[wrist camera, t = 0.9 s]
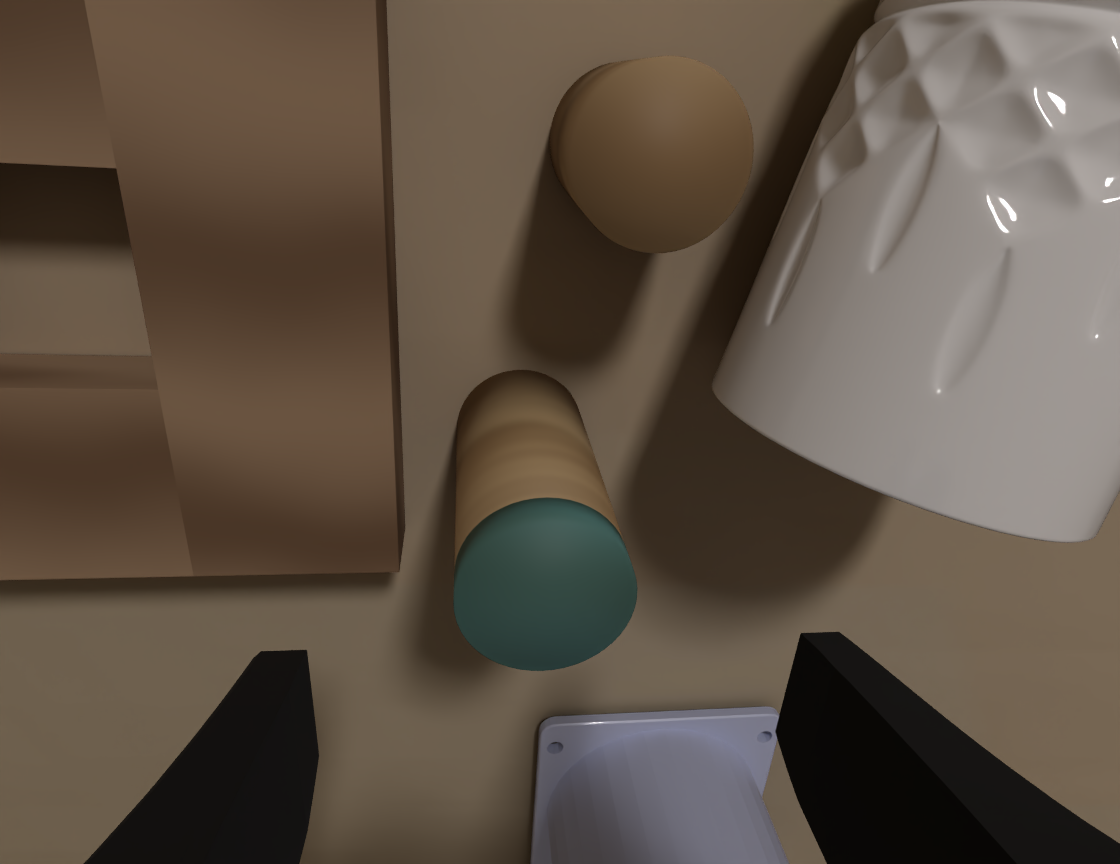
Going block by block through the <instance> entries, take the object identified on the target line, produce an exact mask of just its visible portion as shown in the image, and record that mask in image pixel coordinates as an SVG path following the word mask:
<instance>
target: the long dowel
mask: <svg viewBox="0 0 1120 864" xmlns="http://www.w3.org/2000/svg"><path fill="white" fill-rule="evenodd" d="M636 599H637V582H636V577H635V573H634V570H633V567H632V564H631V561H630V558H629V555H628V552H627V549H626V546H625V543H624V540H623V538H622V535H621V532H620V529H619V526H618V523H617V520H616V517H615V514H614V511H613V508H612V505H611V503H610V500H609V497H608V494H607V491H606V488H605V485H604V482H603V479H602V476H601V473H600V470H599V467H598V465H597V462H596V459H595V456H594V453H593V450H592V447H591V444H590V441H589V438H588V435H587V432H586V430H585V427H584V424H583V421H582V418H581V415H580V412H579V409H578V406H577V404H576V402H575V400H574V398H573V397H572V395H571V394H570V392H569V391H568V390H567V389H566V388H565V387H564V386H563V385H562V384H561V383H559V382H558V381H556V380H555V379H553V378H552V377H549V376H547V375H545V374H542V373H539V372H535V371H529V370H513V371H507V372H503V373H499V374H497V375H494V376H492V377H490V378H488V379H486V380H485V381H483V382H482V383H480V384H479V385H478V386H477V387H476V388H475V389H474V390H473V391H472V392H471V393H470V394H469V395H468V397H467V398H466V400H465V401H464V403H463V405H462V407H461V410H460V413H459V417H458V425H457V466H456V512H455V558H454V613H455V617H456V621H457V624H458V626H459V628H460V631H461V632H462V634H463V635H464V637H465V638H466V640H467V641H468V642H469V643H470V644H471V645H472V647H474V648H475V649H476V650H477V651H478V652H479V653H481V654H482V655H484V656H485V657H487V658H488V659H490V660H492V661H495V662H497V663H499V664H502V665H505V666H508V667H511V668H516V669H521V670H530V671H544V670H555V669H560V668H565V667H568V666H572V665H575V664H578V663H580V662H583V661H585V660H587V659H589V658H591V657H593V656H595V655H597V654H598V653H600V652H601V651H602V650H604V649H605V648H607V647H608V646H609V645H610V644H611V643H612V642H614V640H615V639H616V638H617V637H618V636H619V635H620V634H621V633H622V631H623V630H624V629H625V627H626V626H627V624H628V622H629V620H630V618H631V616H632V614H633V611H634V608H635V604H636Z"/></svg>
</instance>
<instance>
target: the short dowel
mask: <svg viewBox="0 0 1120 864" xmlns="http://www.w3.org/2000/svg"><path fill="white" fill-rule="evenodd" d="M550 153H551V160H552V164H553V167H554V170H555V173H556V175H557V177H558V179H559V181H560V183H561V185H562V186H563V188H564V189H565V190H566V192H567V193H568V194H569V195H570V197H571V198H572V199H573V200H574V202H575V203H576V204H577V205H578V206H579V208H580V209H581V210H582V211H583V212H584V214H585V215H586V216H587V217H588V219H589V220H590V221H591V222H592V223H593V225H594V226H595V227H596V228H597V229H598V230H599V231H600V232H601V233H602V234H604V235H605V236H606V237H608V238H609V239H610V240H612V241H614V242H615V243H617V244H619V245H621V246H623V247H626V248H628V249H631V250H635V251H639V252H645V253H667V252H673V251H677V250H681V249H684V248H687V247H689V246H691V245H694V244H696V243H698V242H700V241H701V240H703V239H705V238H706V237H708V236H709V235H710V234H712V233H713V232H714V231H715V230H717V229H718V228H719V227H720V226H721V225H722V224H723V223H724V222H725V221H726V220H727V218H728V217H729V216H730V215H731V213H732V212H733V211H734V209H735V207H736V206H737V204H738V203H739V201H740V199H741V197H742V195H743V193H744V191H745V189H746V186H747V183H748V180H749V177H750V172H751V168H752V162H753V134H752V127H751V123H750V119H749V116H748V113H747V110H746V108H745V106H744V103H743V101H742V100H741V98H740V96H739V95H738V93H737V92H736V90H735V89H734V88H733V86H732V85H731V84H730V83H729V82H728V81H727V80H726V79H725V78H724V77H723V76H722V75H721V74H720V73H718V72H717V71H715V70H714V69H712V68H711V67H709V66H707V65H705V64H703V63H701V62H699V61H696V60H693V59H689V58H685V57H679V56H658V57H651V58H643V59H636V60H628V61H621V62H614V63H608V64H605V65H602V66H599V67H597V68H595V69H593V70H591V71H589V72H587V73H586V74H584V75H583V76H582V77H580V78H579V79H578V80H577V81H576V82H575V83H574V84H573V85H572V86H571V87H570V88H569V89H568V90H567V92H566V93H565V95H564V96H563V98H562V99H561V101H560V103H559V105H558V107H557V109H556V112H555V115H554V117H553V121H552V125H551V132H550Z"/></svg>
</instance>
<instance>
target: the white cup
mask: <svg viewBox="0 0 1120 864" xmlns="http://www.w3.org/2000/svg"><path fill="white" fill-rule="evenodd" d="M712 390H713V392H714V394H715V396H716V397H717V398H718V400H719V401H720V402H721V403H722V404H723V405H724V406H725V407H726V408H727V409H728V410H729V411H730V412H731V413H732V414H734V415H735V416H736V417H737V418H739V419H740V420H741V421H743V422H744V423H745V424H747V425H748V426H750V427H751V428H753V429H754V430H756V431H757V432H759V433H760V434H762V435H764V436H765V437H767V438H768V439H770V440H772V441H773V442H775V443H777V444H779V445H780V446H782V447H784V448H786V449H788V450H789V451H791V452H793V453H795V454H797V455H799V456H801V457H803V458H804V459H806V460H808V461H810V462H812V463H814V464H816V465H818V466H820V467H823V468H825V469H827V470H829V471H831V472H833V473H835V474H837V475H840V476H842V477H844V478H846V479H848V480H851V481H853V482H855V483H858V484H860V485H862V486H865V487H867V488H869V489H872V490H874V491H877V492H879V493H882V494H884V495H887V496H889V497H892V498H894V499H897V500H899V501H902V502H905V503H907V504H910V505H913V506H916V507H918V508H921V509H924V510H927V511H930V512H933V513H936V514H939V515H942V516H945V517H948V518H951V519H954V520H957V521H961V522H964V523H967V524H971V525H974V526H978V527H981V528H985V529H989V530H992V531H996V532H1000V533H1005V534H1009V535H1013V536H1018V537H1023V538H1029V539H1034V540H1041V541H1049V542H1061V543H1074V542H1083V541H1087V540H1090V539H1092V538H1094V537H1095V536H1096V535H1097V534H1098V532H1099V530H1100V528H1101V526H1102V524H1103V522H1104V520H1105V519H1106V517H1107V515H1108V513H1109V511H1110V509H1111V507H1112V505H1113V503H1114V501H1115V499H1116V497H1117V495H1118V493H1119V492H1120V0H880V2H879V4H878V7H877V9H876V11H875V13H874V24H873V25H872V26H871V27H870V28H868V29H867V30H866V31H865V32H864V33H863V34H862V35H861V36H860V38H859V39H858V41H857V43H856V45H855V47H854V49H853V51H852V53H851V55H850V58H849V60H848V62H847V65H846V67H845V70H844V72H843V75H842V78H841V80H840V83H839V85H838V87H837V89H836V91H835V93H834V95H833V97H832V99H831V101H830V103H829V106H828V108H827V110H826V113H825V115H824V117H823V119H822V121H821V123H820V126H819V128H818V130H817V132H816V134H815V137H814V139H813V141H812V143H811V146H810V148H809V150H808V152H807V155H806V157H805V160H804V162H803V164H802V167H801V169H800V171H799V174H798V176H797V179H796V181H795V183H794V186H793V188H792V191H791V193H790V196H789V198H788V200H787V203H786V205H785V208H784V210H783V212H782V215H781V217H780V220H779V222H778V225H777V227H776V229H775V232H774V234H773V237H772V239H771V242H770V244H769V247H768V249H767V251H766V254H765V256H764V259H763V261H762V263H761V266H760V268H759V271H758V273H757V276H756V278H755V280H754V283H753V285H752V288H751V290H750V292H749V295H748V297H747V300H746V302H745V304H744V307H743V309H742V312H741V314H740V316H739V319H738V321H737V324H736V326H735V328H734V331H733V333H732V336H731V338H730V340H729V343H728V345H727V347H726V350H725V352H724V355H723V357H722V359H721V362H720V364H719V367H718V369H717V371H716V374H715V376H714V378H713V381H712Z"/></svg>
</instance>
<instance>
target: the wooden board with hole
mask: <svg viewBox="0 0 1120 864" xmlns="http://www.w3.org/2000/svg"><path fill="white" fill-rule="evenodd" d="M0 163H18V164H38V165H59V166H80V167H100V168H116V170H117V175H118V180H119V186H120V191H121V196H122V201H123V207H124V212H125V217H126V222H127V228H128V233H129V238H130V244H131V249H132V254H133V259H134V265H135V270H136V275H137V280H138V286H139V291H140V296H141V302H142V307H143V312H144V317H145V323H146V328H147V333H148V338H149V344H150V349H151V354H152V356H97V355H38V354H0V580H33V579H83V578H133V577H182V576H232V575H282V574H331V573H381V572H399V570H400V562H401V555H402V547H403V540H404V533H405V509H404V481H403V453H402V425H401V397H400V369H399V341H398V314H397V286H396V258H395V230H394V202H393V174H392V146H391V118H390V91H389V63H388V35H387V7H386V0H0Z"/></svg>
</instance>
